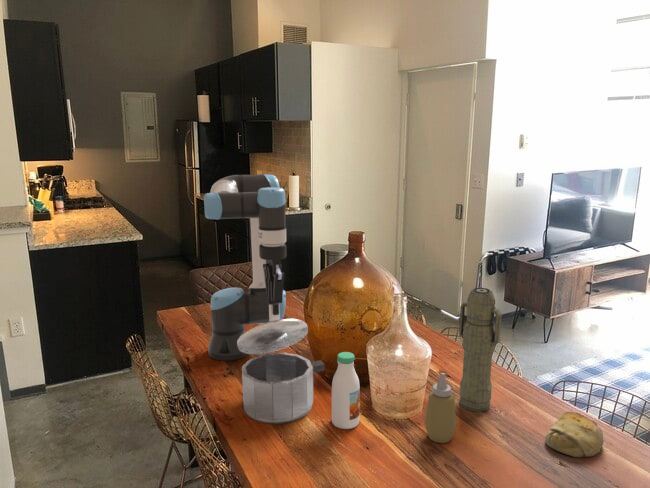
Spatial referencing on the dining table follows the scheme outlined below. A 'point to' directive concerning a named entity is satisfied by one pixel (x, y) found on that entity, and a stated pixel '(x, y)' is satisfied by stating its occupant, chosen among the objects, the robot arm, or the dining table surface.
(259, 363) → the pot
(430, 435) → the squeeze bottle
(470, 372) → the thermos
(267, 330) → the lid
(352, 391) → the milk bottle
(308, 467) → the dining table surface
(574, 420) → the pastry
